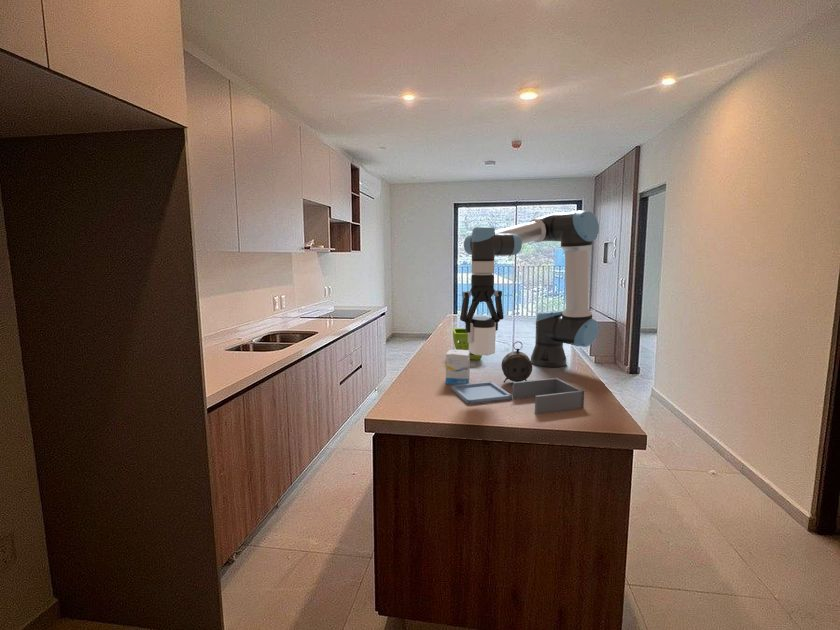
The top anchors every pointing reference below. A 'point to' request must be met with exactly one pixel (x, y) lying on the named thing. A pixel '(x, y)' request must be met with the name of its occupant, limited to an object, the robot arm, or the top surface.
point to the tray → (480, 392)
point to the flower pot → (463, 341)
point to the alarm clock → (516, 366)
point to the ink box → (457, 367)
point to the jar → (483, 336)
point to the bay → (550, 394)
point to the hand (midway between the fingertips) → (481, 340)
